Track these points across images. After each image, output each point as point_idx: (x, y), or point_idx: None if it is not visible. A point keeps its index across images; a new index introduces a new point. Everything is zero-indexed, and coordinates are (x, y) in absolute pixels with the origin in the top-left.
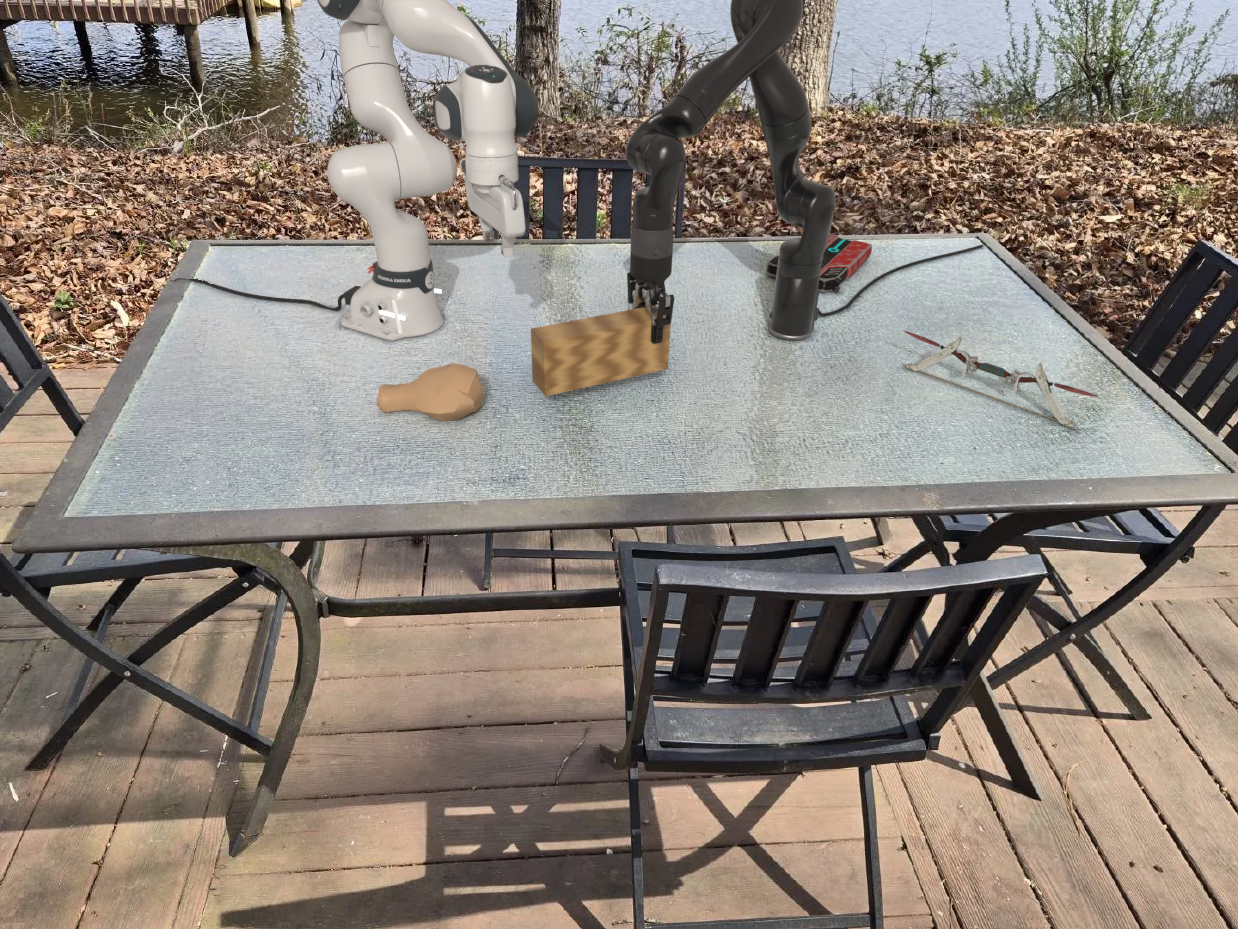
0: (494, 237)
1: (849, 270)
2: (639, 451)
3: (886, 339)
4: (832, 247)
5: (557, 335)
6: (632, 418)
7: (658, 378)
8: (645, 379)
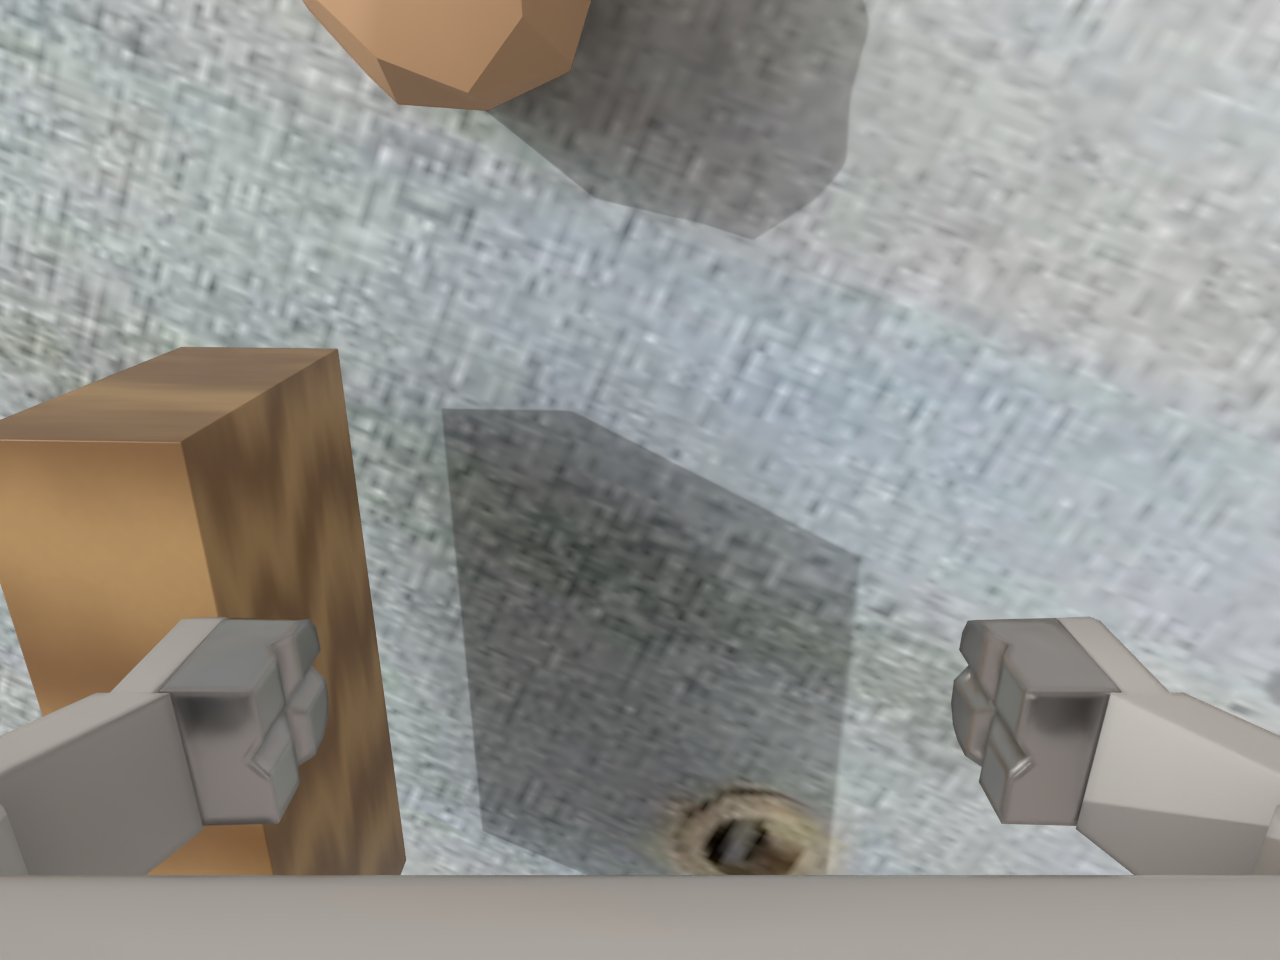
0: (970, 755)
1: None
2: None
3: None
4: None
5: (40, 551)
6: None
7: (468, 805)
8: (477, 769)
